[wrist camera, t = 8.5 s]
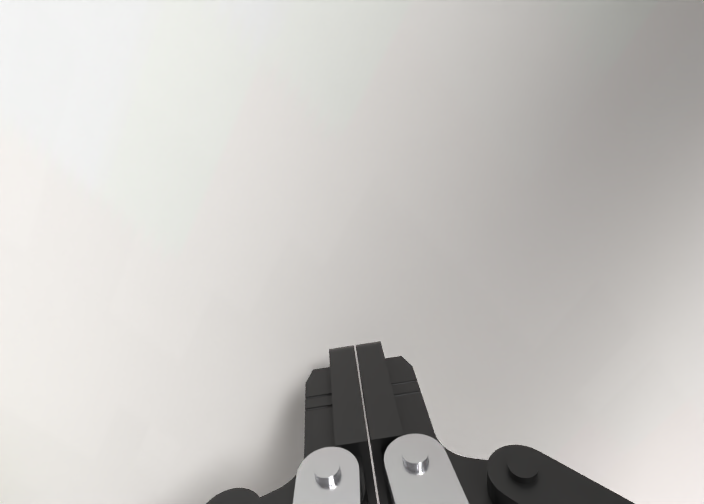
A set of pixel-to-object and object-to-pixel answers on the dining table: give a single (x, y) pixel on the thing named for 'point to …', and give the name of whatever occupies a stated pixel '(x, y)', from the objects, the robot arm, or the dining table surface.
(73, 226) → the dining table surface
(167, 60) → the dining table surface
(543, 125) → the dining table surface
